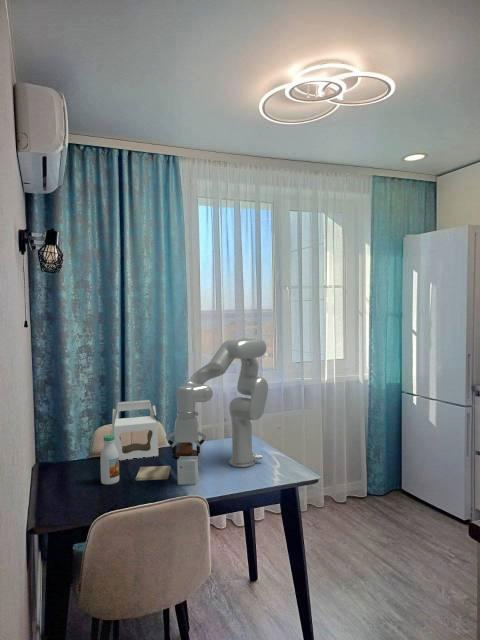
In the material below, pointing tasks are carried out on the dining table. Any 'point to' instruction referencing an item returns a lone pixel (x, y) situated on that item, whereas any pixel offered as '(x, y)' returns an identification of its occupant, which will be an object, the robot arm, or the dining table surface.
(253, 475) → the dining table surface
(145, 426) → the gable box
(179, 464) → the small box
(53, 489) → the dining table surface
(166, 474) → the oak board
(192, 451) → the cup and saucer
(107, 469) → the milk bottle
